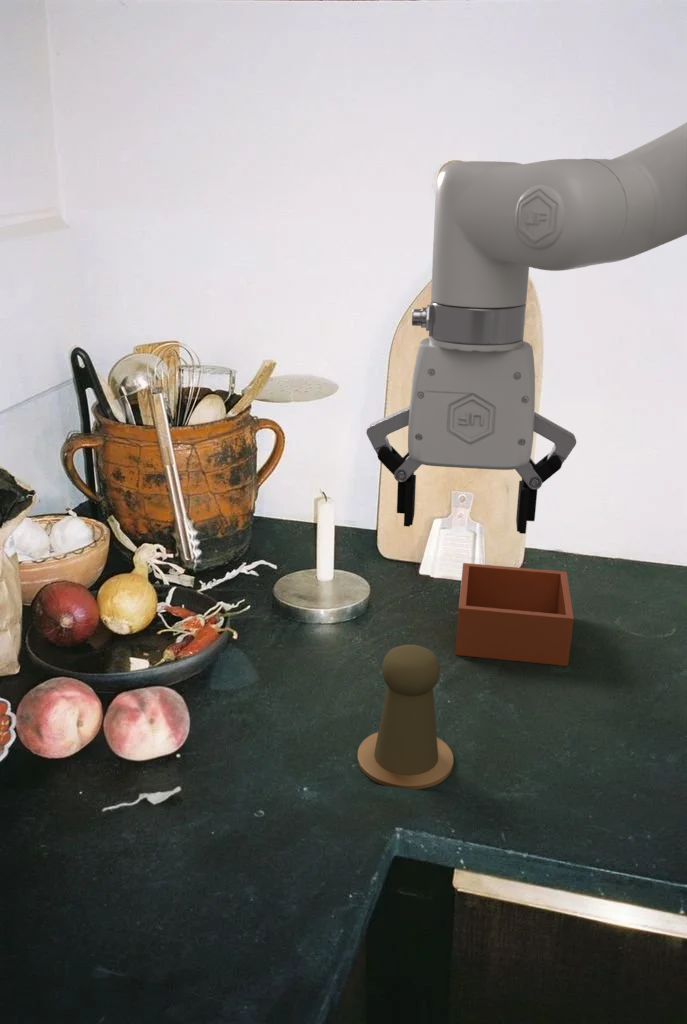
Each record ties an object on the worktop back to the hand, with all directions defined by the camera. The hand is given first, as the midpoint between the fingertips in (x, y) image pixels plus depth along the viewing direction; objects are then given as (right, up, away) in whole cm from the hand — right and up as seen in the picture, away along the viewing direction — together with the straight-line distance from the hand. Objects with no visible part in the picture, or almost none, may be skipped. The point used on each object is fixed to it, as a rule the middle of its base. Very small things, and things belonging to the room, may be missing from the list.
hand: (464, 524), depth 81 cm
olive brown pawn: (-5, -22, +7) cm, 23 cm away
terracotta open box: (+9, -14, +31) cm, 35 cm away
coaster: (-5, -22, +7) cm, 24 cm away
